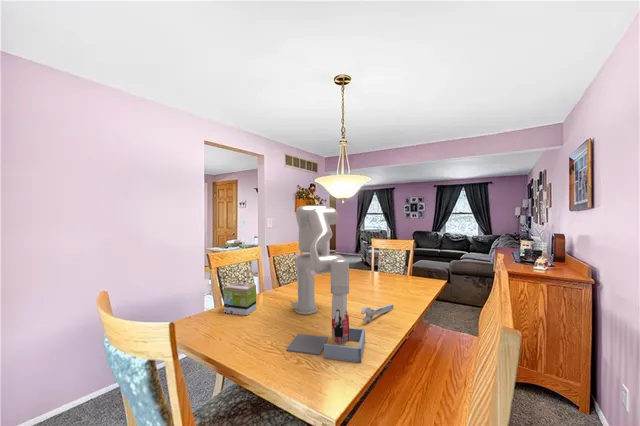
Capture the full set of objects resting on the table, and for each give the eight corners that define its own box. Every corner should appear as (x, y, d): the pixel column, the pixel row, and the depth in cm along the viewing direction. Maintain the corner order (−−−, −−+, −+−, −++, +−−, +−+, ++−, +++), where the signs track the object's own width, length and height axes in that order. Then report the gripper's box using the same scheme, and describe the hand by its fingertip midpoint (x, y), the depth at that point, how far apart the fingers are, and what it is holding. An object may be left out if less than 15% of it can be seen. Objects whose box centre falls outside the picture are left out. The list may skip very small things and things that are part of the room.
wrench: (393, 314, 151) (363, 325, 129) (390, 313, 152) (360, 324, 131) (394, 299, 152) (364, 308, 130) (391, 299, 153) (361, 307, 131)
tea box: (223, 313, 149) (222, 286, 149) (234, 307, 158) (233, 282, 158) (247, 316, 144) (246, 288, 144) (257, 309, 154) (256, 283, 154)
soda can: (338, 335, 115) (338, 307, 115) (352, 340, 110) (352, 311, 110) (328, 342, 109) (328, 312, 109) (342, 347, 105) (342, 317, 105)
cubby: (324, 357, 103) (323, 344, 103) (333, 337, 119) (332, 325, 119) (360, 362, 99) (360, 349, 99) (365, 340, 116) (364, 329, 116)
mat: (286, 350, 108) (286, 349, 108) (297, 335, 122) (297, 333, 122) (319, 355, 105) (319, 353, 105) (327, 338, 118) (327, 336, 118)
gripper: (335, 282, 119) (335, 322, 119) (326, 295, 102) (326, 341, 102) (352, 283, 117) (352, 324, 117) (345, 296, 100) (346, 343, 100)
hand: (340, 332), depth 110 cm, fingers closed on soda can, 7 cm apart
